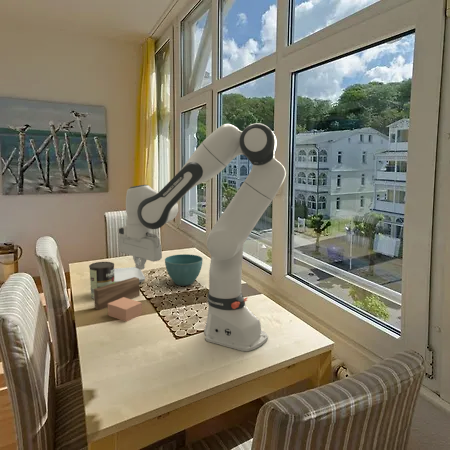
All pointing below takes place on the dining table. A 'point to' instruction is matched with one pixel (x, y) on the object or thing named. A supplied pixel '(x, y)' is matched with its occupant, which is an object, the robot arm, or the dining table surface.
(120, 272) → the salad plate
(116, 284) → the walnut board
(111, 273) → the coffee can
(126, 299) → the terracotta block
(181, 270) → the plant pot
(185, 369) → the dining table surface
